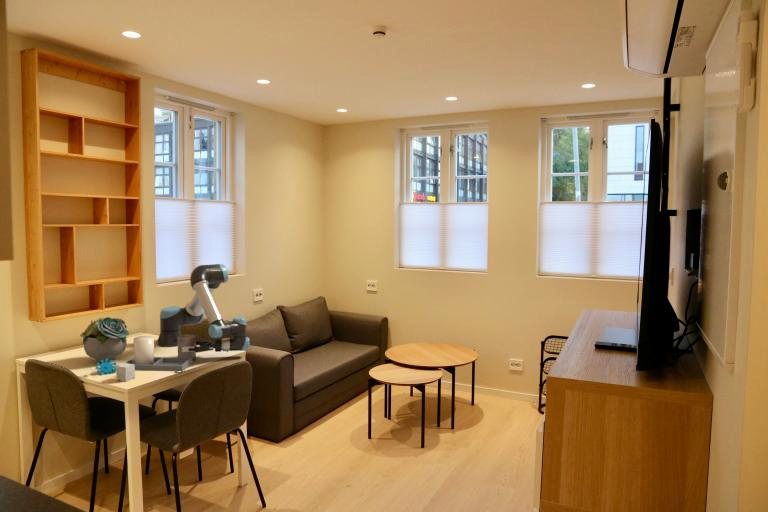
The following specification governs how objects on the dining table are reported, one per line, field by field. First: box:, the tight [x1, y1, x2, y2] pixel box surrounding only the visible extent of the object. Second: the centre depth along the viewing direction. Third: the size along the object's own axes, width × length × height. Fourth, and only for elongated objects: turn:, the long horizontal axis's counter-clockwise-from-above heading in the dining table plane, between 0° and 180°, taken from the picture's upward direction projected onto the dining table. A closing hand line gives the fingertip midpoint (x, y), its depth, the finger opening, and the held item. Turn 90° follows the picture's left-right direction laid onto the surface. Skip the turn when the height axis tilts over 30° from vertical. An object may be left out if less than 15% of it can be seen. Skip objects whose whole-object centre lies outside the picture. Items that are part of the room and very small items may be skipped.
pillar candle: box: [177, 334, 197, 362], centre depth 300 cm, size 10×10×15 cm
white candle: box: [133, 335, 155, 365], centre depth 283 cm, size 10×10×15 cm
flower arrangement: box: [79, 316, 130, 364], centre depth 293 cm, size 25×25×24 cm
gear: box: [95, 359, 117, 376], centre depth 271 cm, size 11×6×10 cm
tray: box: [125, 356, 193, 373], centre depth 284 cm, size 16×31×4 cm, turn 93°
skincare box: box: [115, 362, 136, 382], centre depth 263 cm, size 6×6×7 cm
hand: (182, 346), depth 299 cm, fingers open, 13 cm apart
